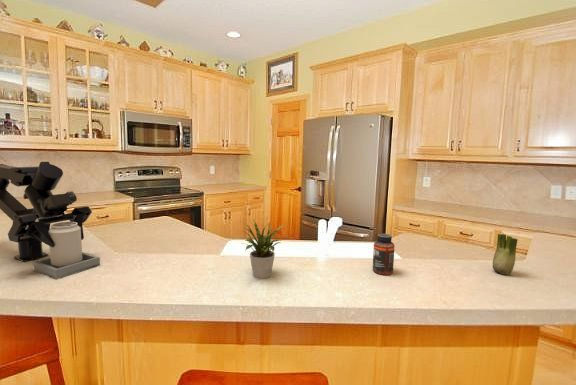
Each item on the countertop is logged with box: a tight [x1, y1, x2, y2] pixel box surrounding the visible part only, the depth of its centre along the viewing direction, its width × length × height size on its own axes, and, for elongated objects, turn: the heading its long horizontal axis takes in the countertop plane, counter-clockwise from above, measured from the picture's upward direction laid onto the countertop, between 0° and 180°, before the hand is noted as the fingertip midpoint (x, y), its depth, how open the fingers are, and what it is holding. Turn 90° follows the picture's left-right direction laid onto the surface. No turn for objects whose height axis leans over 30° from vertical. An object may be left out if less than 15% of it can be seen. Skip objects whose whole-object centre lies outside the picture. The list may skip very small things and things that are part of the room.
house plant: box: [238, 219, 285, 279], centre depth 86 cm, size 14×14×16 cm
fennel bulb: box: [492, 233, 518, 276], centre depth 92 cm, size 6×5×12 cm
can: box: [48, 221, 83, 268], centre depth 88 cm, size 8×8×12 cm
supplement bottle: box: [372, 233, 395, 276], centre depth 91 cm, size 6×6×11 cm
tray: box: [33, 251, 101, 280], centre depth 89 cm, size 12×12×2 cm
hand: (68, 242), depth 87 cm, fingers closed on can, 7 cm apart
